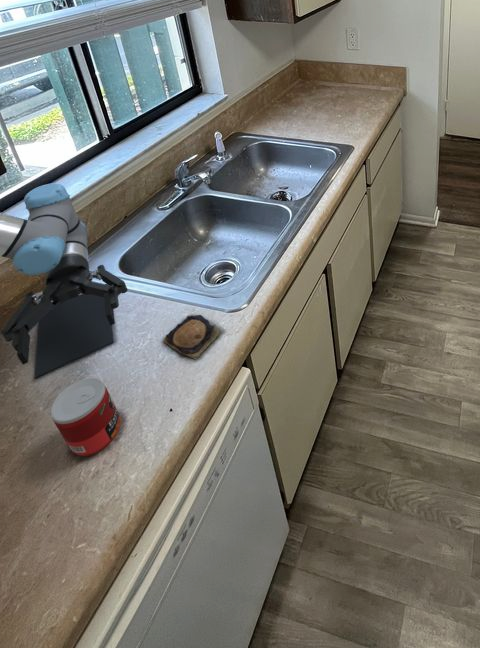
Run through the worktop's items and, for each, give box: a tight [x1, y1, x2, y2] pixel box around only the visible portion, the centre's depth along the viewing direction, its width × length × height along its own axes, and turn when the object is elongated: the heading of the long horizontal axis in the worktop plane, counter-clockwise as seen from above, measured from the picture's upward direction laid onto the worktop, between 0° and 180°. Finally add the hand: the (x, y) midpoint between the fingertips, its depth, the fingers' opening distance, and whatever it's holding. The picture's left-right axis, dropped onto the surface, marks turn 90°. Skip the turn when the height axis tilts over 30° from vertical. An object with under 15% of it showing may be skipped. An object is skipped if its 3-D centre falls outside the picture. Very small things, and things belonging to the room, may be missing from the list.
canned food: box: [49, 376, 122, 457], centre depth 79 cm, size 8×8×11 cm
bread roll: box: [163, 314, 222, 360], centre depth 98 cm, size 11×8×4 cm
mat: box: [34, 283, 115, 379], centre depth 102 cm, size 14×20×1 cm
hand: (68, 338), depth 81 cm, fingers open, 13 cm apart
